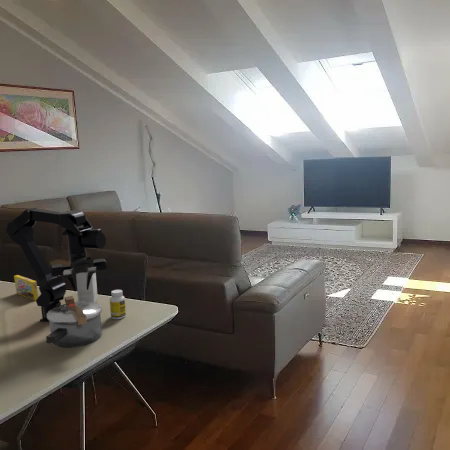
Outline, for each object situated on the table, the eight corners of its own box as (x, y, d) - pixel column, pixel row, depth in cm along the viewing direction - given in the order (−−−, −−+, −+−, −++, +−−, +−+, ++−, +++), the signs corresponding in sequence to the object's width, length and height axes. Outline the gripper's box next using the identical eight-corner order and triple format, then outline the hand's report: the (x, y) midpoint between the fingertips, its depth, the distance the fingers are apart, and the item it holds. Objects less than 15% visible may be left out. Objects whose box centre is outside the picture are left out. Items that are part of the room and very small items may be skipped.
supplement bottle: (122, 319, 169) (120, 293, 167) (108, 319, 170) (106, 293, 168) (128, 314, 174) (126, 289, 172) (114, 313, 175) (112, 288, 174)
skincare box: (82, 299, 193) (79, 263, 190) (99, 298, 193) (95, 262, 190) (78, 306, 184) (74, 268, 182) (95, 305, 185) (91, 267, 182)
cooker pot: (29, 355, 143) (26, 330, 142) (72, 323, 168) (70, 301, 166) (76, 358, 140) (74, 333, 138) (114, 325, 164) (112, 303, 163)
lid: (42, 308, 159) (42, 300, 159) (94, 299, 167) (93, 291, 167) (53, 333, 138) (52, 323, 137) (111, 321, 146) (110, 312, 145)
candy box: (15, 294, 203) (13, 275, 202) (20, 292, 205) (18, 274, 204) (34, 301, 193) (32, 281, 192) (39, 299, 195) (37, 280, 193)
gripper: (49, 256, 152) (54, 301, 155) (107, 249, 159) (111, 293, 161) (48, 249, 162) (53, 292, 165) (103, 242, 169) (107, 284, 172)
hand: (81, 290), depth 165 cm, fingers open, 4 cm apart
